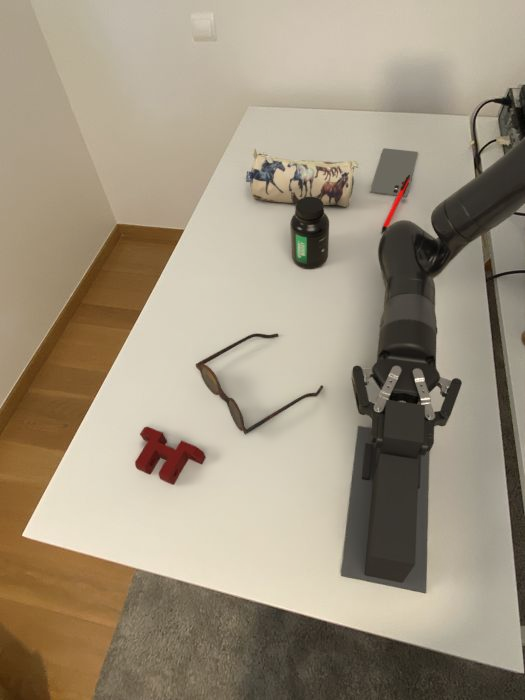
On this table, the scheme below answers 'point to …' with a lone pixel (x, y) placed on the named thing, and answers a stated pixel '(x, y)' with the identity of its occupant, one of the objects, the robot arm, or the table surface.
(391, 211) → the pen
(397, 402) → the black rectangular box
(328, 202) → the pencil case
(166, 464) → the bracket
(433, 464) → the table surface
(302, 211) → the supplement bottle
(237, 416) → the eyeglasses
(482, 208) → the robot arm
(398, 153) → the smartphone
